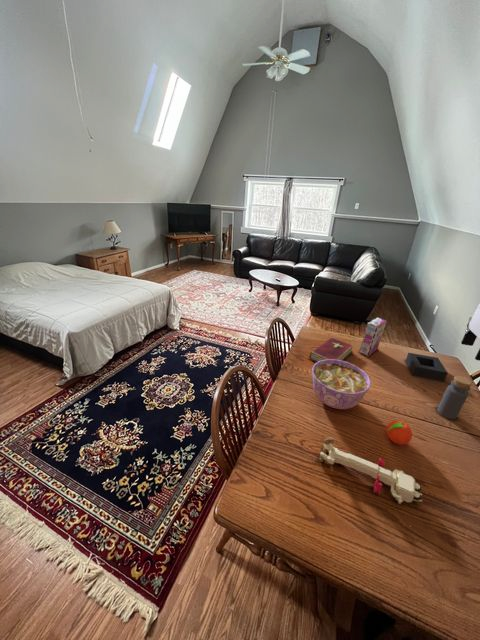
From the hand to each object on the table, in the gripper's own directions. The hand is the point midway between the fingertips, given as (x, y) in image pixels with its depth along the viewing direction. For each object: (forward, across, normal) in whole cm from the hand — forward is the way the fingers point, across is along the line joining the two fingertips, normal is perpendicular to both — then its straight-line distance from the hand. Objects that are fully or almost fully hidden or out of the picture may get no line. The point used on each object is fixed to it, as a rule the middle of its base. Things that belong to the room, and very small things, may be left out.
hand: (473, 352), depth 84 cm
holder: (+26, +29, -2) cm, 39 cm away
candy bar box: (+26, +38, +20) cm, 50 cm away
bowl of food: (+26, -5, +37) cm, 46 cm away
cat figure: (+26, -34, +29) cm, 52 cm away
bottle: (+26, +1, -2) cm, 27 cm away
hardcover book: (+26, +27, +38) cm, 54 cm away
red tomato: (+26, -18, +19) cm, 38 cm away
